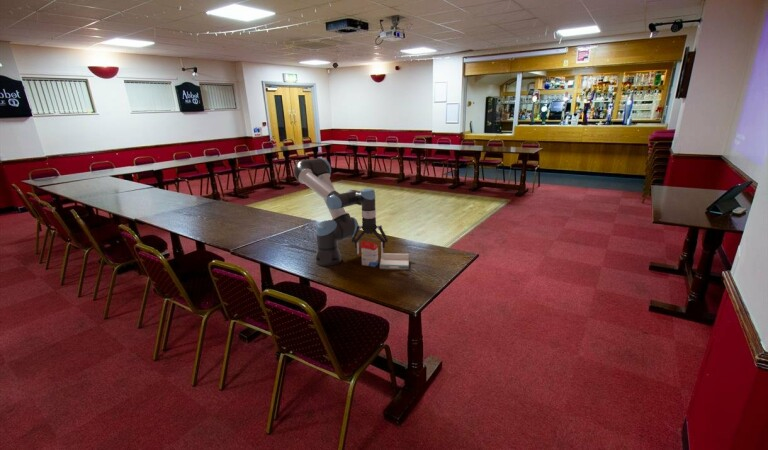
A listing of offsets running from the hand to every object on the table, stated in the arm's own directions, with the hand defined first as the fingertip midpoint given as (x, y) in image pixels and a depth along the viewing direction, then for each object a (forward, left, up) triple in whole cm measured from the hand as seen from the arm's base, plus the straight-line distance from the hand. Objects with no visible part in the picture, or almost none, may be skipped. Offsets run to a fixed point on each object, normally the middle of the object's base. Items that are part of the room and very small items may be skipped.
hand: (370, 253), depth 205 cm
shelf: (+14, 0, -7) cm, 15 cm away
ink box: (0, 0, -7) cm, 7 cm away
